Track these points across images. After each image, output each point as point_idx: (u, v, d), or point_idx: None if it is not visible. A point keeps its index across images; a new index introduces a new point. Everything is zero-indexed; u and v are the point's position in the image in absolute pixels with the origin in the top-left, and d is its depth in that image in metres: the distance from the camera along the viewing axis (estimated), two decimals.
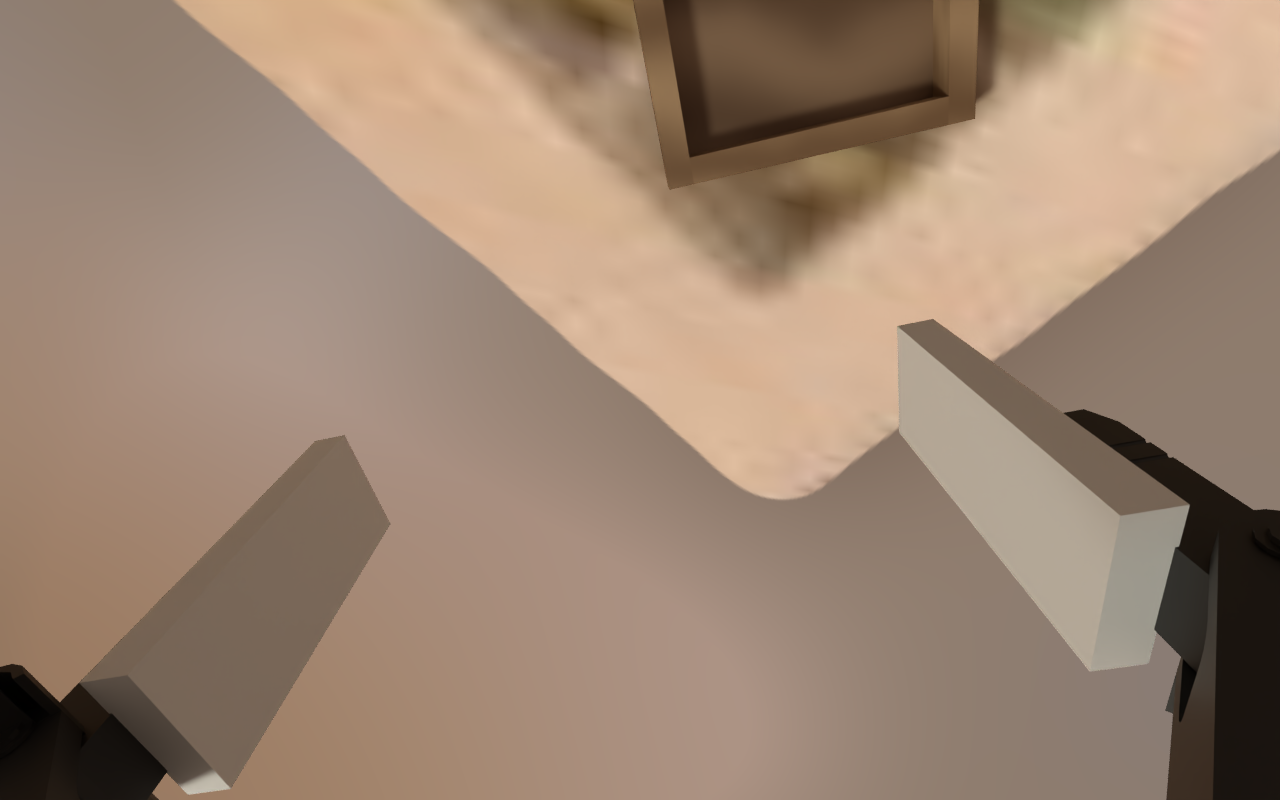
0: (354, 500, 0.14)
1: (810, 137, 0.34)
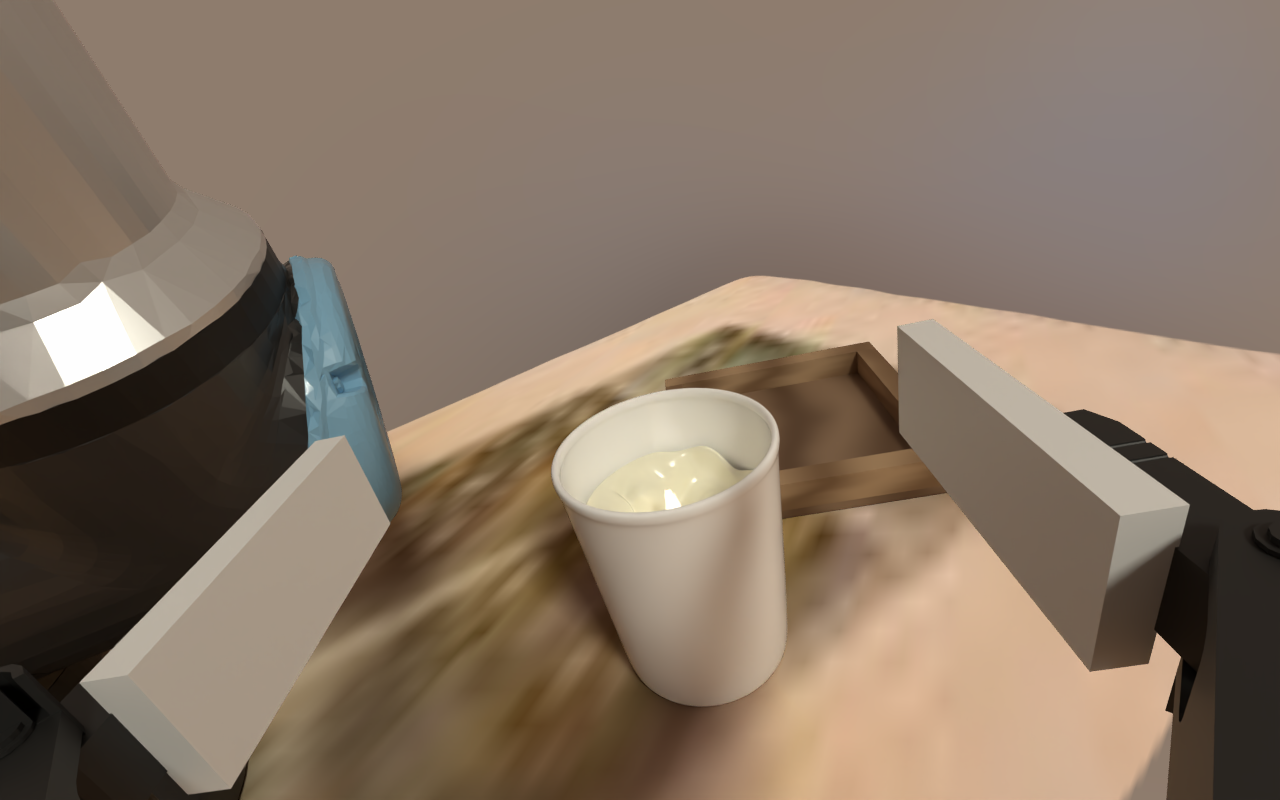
0: (354, 500, 0.14)
1: (897, 391, 0.42)
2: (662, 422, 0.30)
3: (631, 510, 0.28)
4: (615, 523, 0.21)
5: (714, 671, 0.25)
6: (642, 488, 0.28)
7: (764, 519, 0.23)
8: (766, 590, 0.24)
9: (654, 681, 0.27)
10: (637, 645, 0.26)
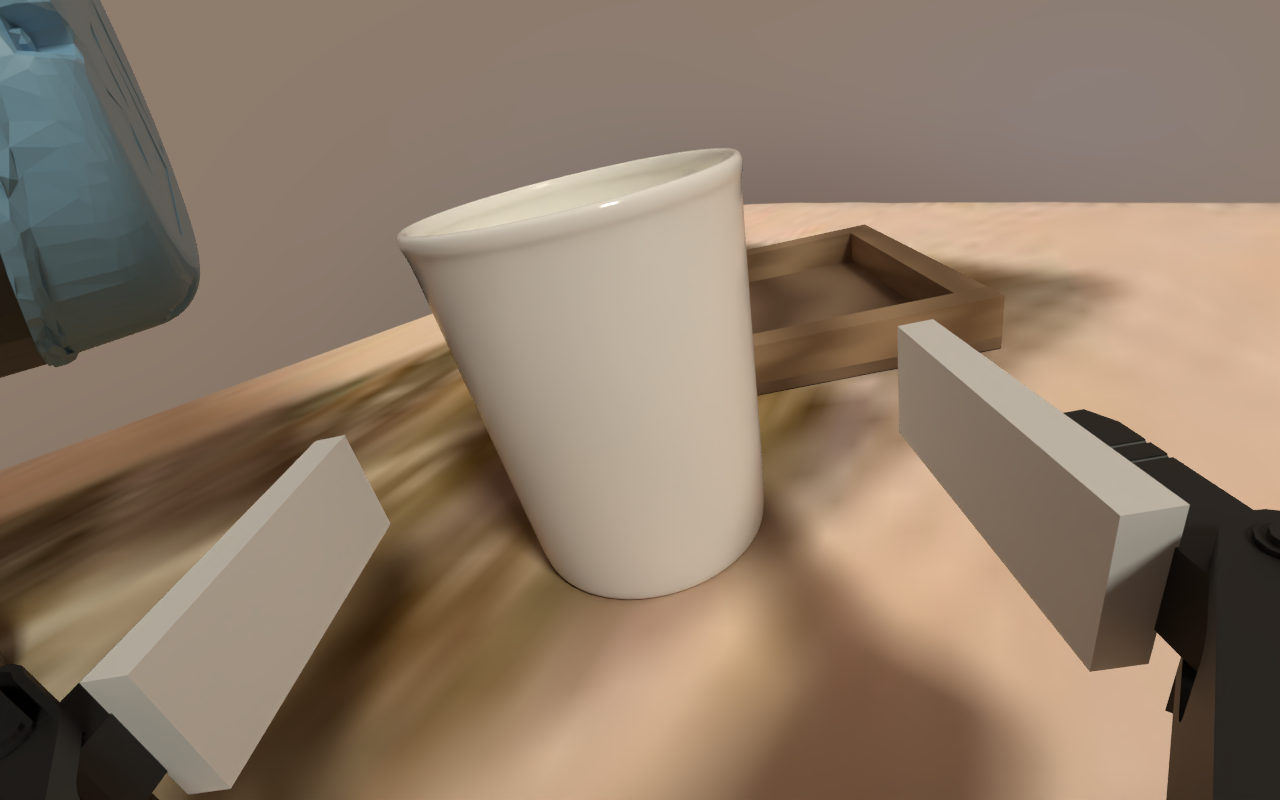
0: (354, 500, 0.14)
1: (902, 256, 0.34)
2: None
3: None
4: (468, 250, 0.13)
5: (652, 535, 0.17)
6: None
7: (719, 274, 0.15)
8: (726, 405, 0.16)
9: (570, 564, 0.18)
10: (539, 503, 0.17)
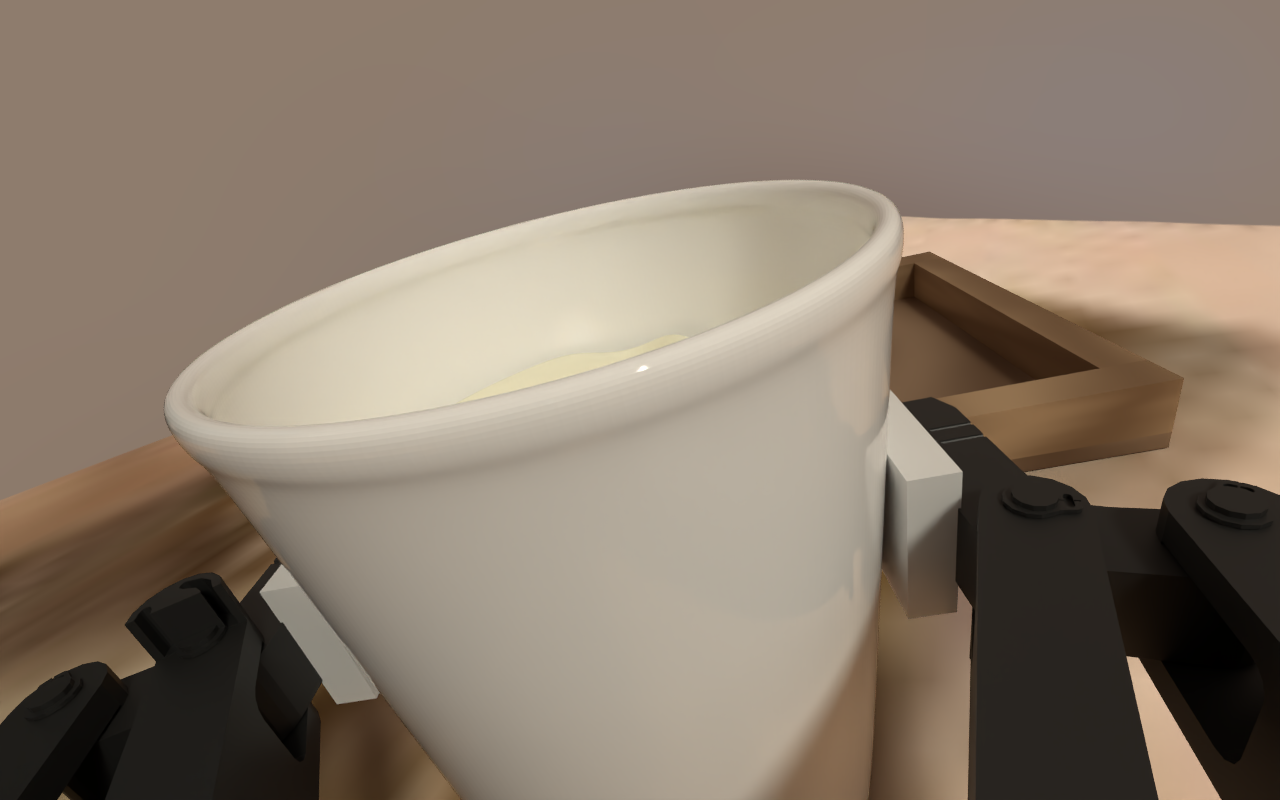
0: None
1: (998, 302, 0.26)
2: (584, 286, 0.13)
3: None
4: (257, 477, 0.05)
5: None
6: None
7: (861, 471, 0.07)
8: (849, 691, 0.08)
9: None
10: None
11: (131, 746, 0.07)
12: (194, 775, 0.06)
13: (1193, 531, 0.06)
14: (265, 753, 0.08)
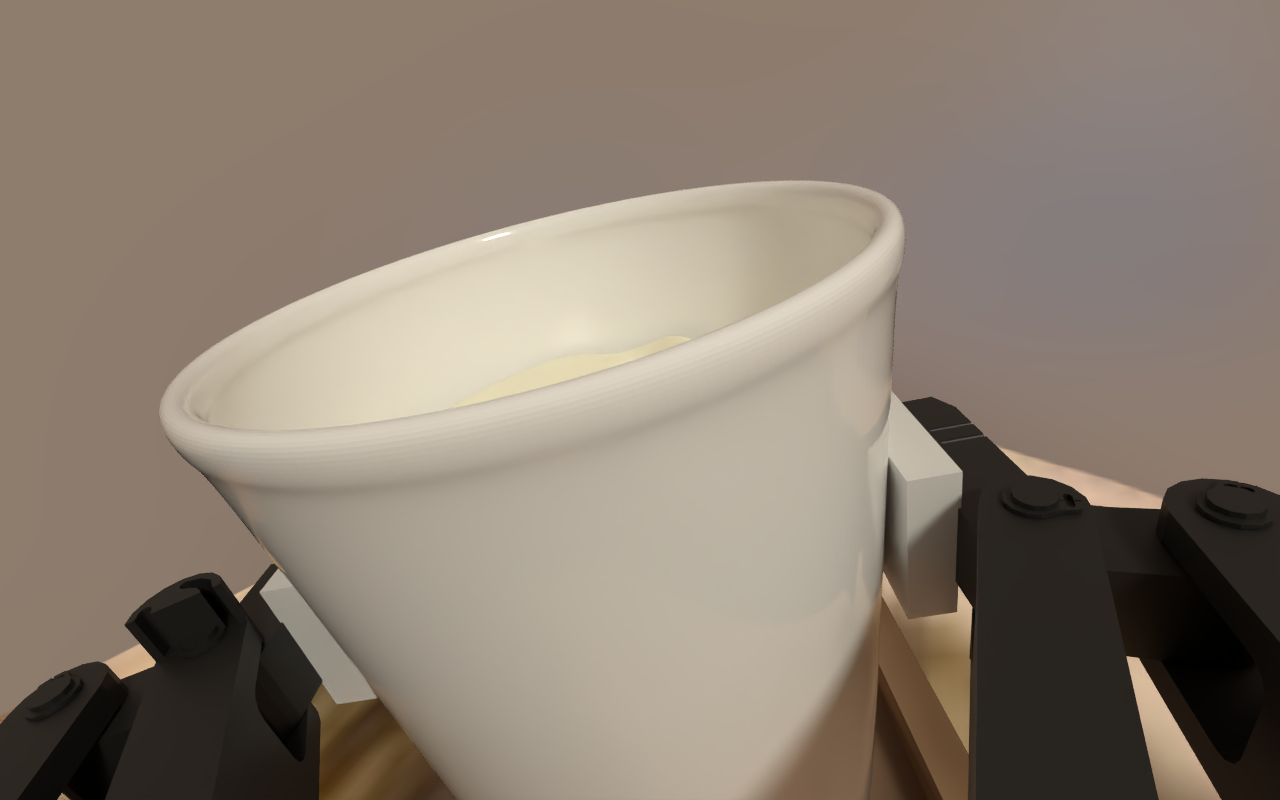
0: None
1: (930, 743, 0.21)
2: (584, 287, 0.13)
3: None
4: (253, 480, 0.05)
5: None
6: None
7: (862, 475, 0.07)
8: (850, 696, 0.08)
9: None
10: None
11: (131, 746, 0.07)
12: (194, 775, 0.06)
13: (1193, 531, 0.06)
14: (265, 753, 0.08)
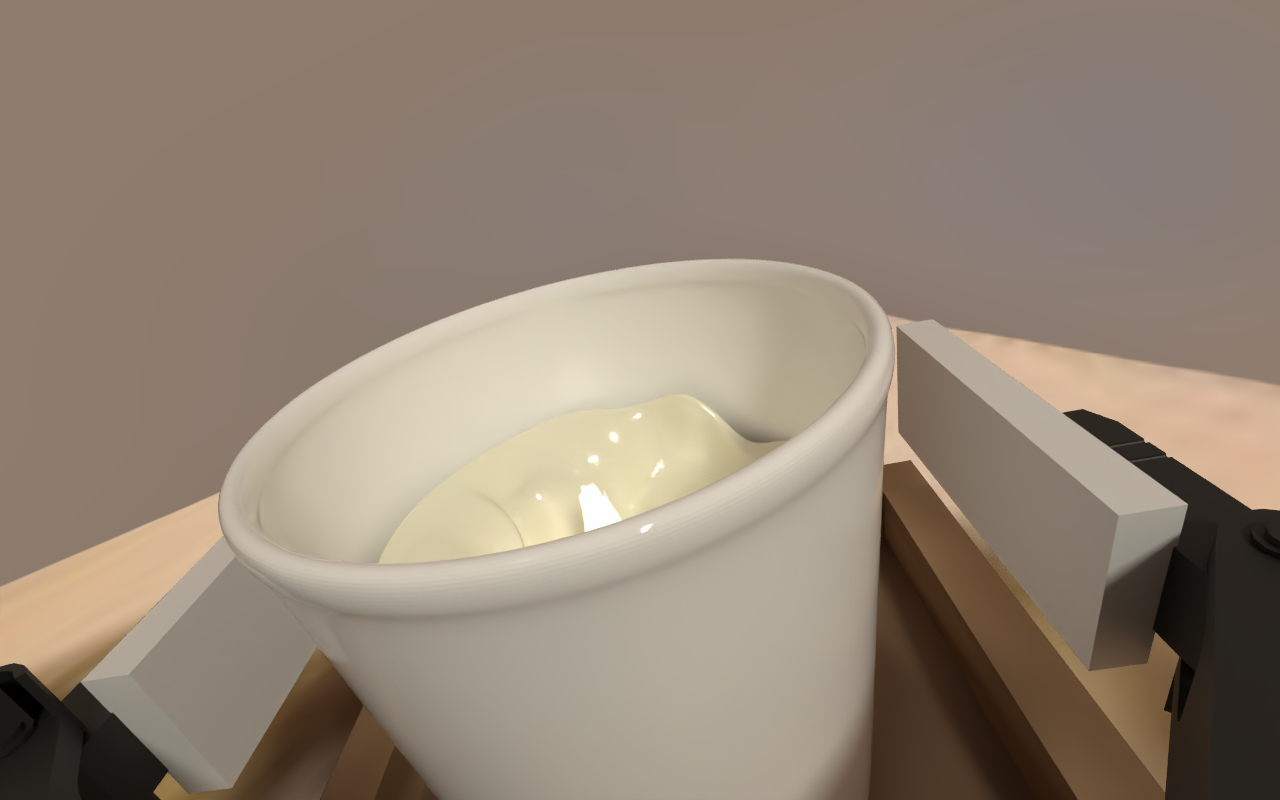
0: None
1: (1040, 704, 0.13)
2: (592, 346, 0.14)
3: (514, 534, 0.12)
4: (318, 605, 0.06)
5: None
6: (543, 485, 0.13)
7: (856, 568, 0.07)
8: (846, 757, 0.09)
9: None
10: None
11: None
12: None
13: None
14: None
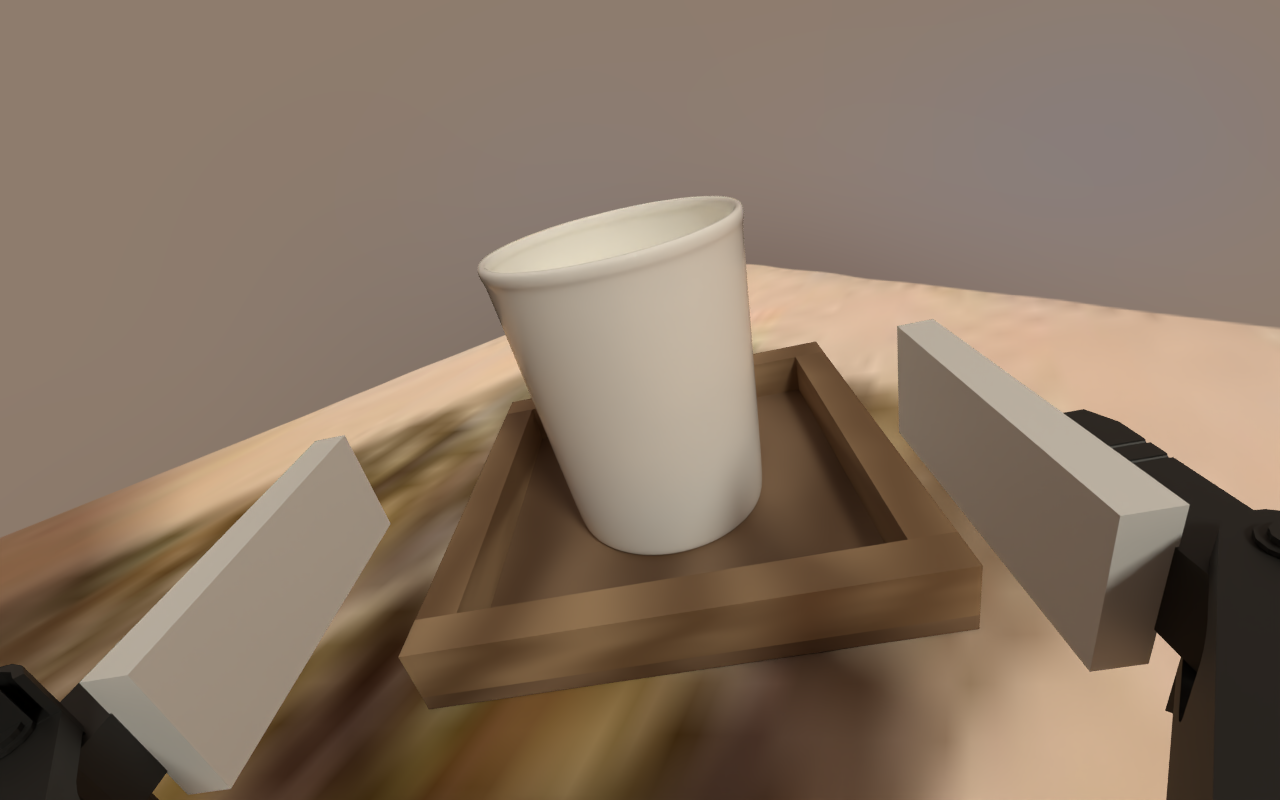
0: (354, 500, 0.14)
1: (849, 425, 0.24)
2: (617, 249, 0.26)
3: None
4: (542, 284, 0.17)
5: (673, 501, 0.21)
6: None
7: (725, 299, 0.19)
8: (732, 399, 0.21)
9: (606, 527, 0.23)
10: (584, 477, 0.22)
11: None
12: None
13: None
14: None
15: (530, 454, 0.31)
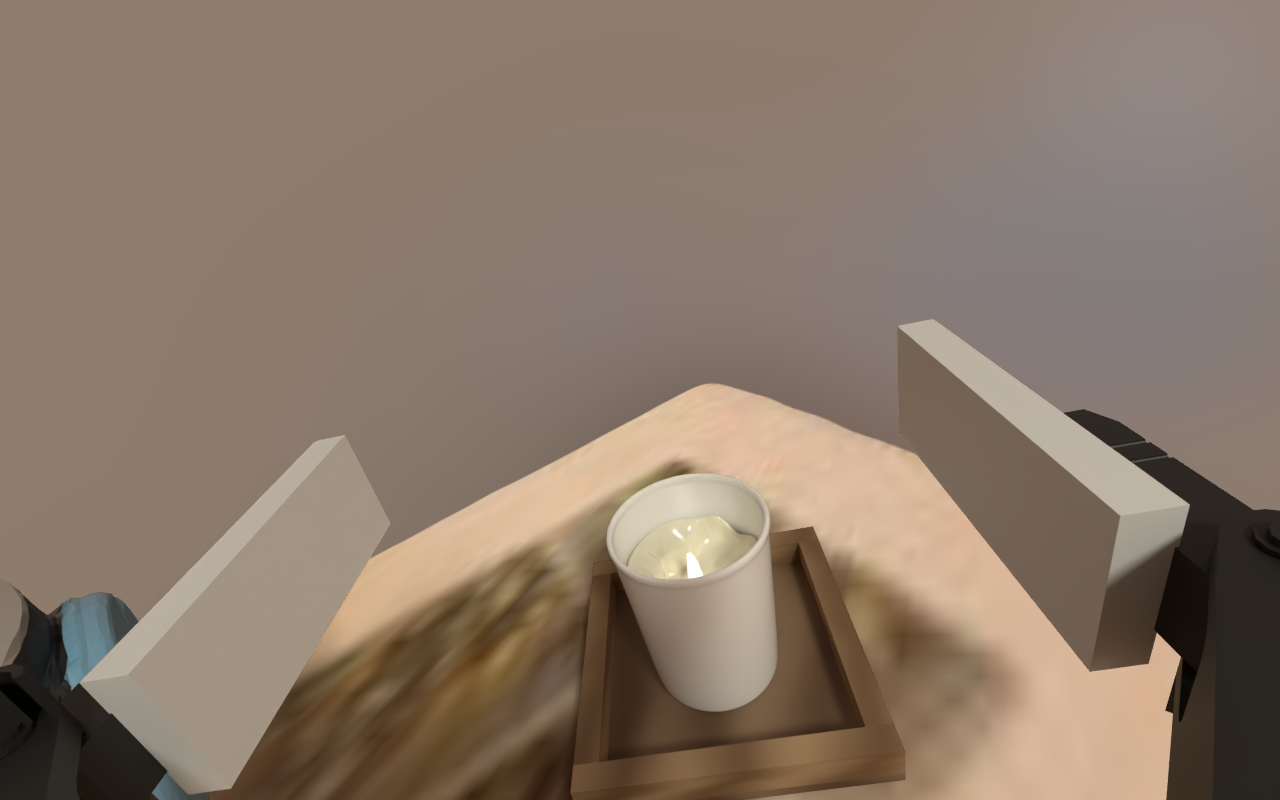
0: (354, 500, 0.14)
1: (834, 621, 0.38)
2: (682, 497, 0.39)
3: (661, 566, 0.37)
4: (658, 586, 0.31)
5: (725, 686, 0.35)
6: (668, 549, 0.38)
7: (760, 579, 0.33)
8: (762, 627, 0.34)
9: (680, 693, 0.36)
10: (668, 668, 0.35)
11: None
12: None
13: None
14: None
15: (613, 612, 0.44)
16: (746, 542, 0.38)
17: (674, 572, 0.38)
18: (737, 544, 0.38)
